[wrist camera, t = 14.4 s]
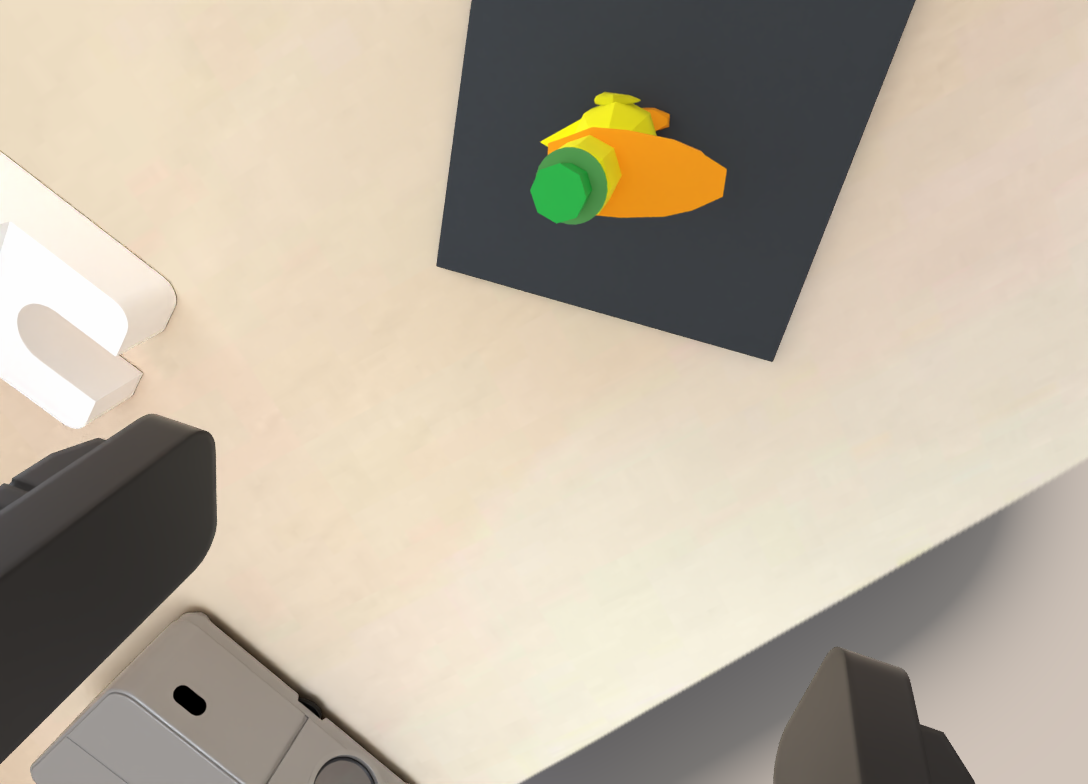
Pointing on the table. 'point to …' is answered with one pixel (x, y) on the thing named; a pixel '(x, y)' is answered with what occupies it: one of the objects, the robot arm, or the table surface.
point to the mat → (695, 119)
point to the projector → (203, 723)
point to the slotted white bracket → (70, 303)
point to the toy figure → (622, 167)
